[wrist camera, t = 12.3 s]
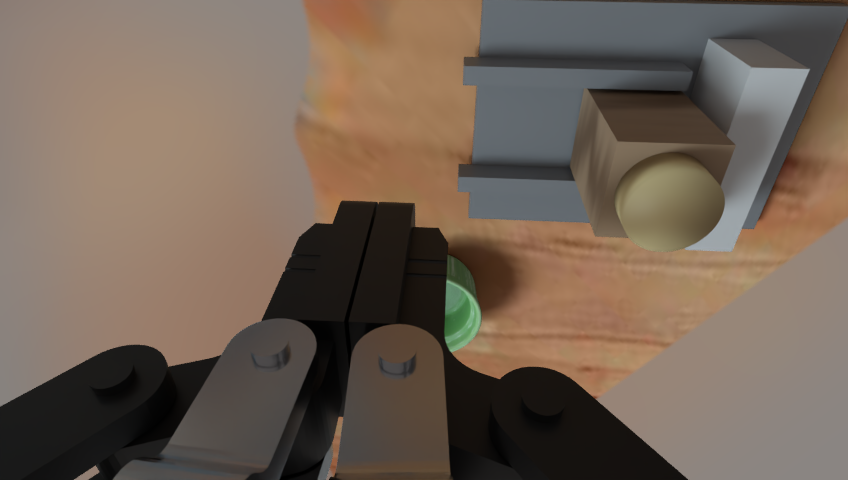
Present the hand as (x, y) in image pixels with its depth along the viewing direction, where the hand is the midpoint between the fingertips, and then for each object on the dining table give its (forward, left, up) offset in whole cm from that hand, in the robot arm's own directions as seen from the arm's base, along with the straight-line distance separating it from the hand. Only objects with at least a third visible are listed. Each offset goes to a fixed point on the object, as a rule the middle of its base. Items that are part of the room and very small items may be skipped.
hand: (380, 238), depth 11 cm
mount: (+8, +14, -27) cm, 31 cm away
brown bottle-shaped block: (+8, +13, -26) cm, 30 cm away
